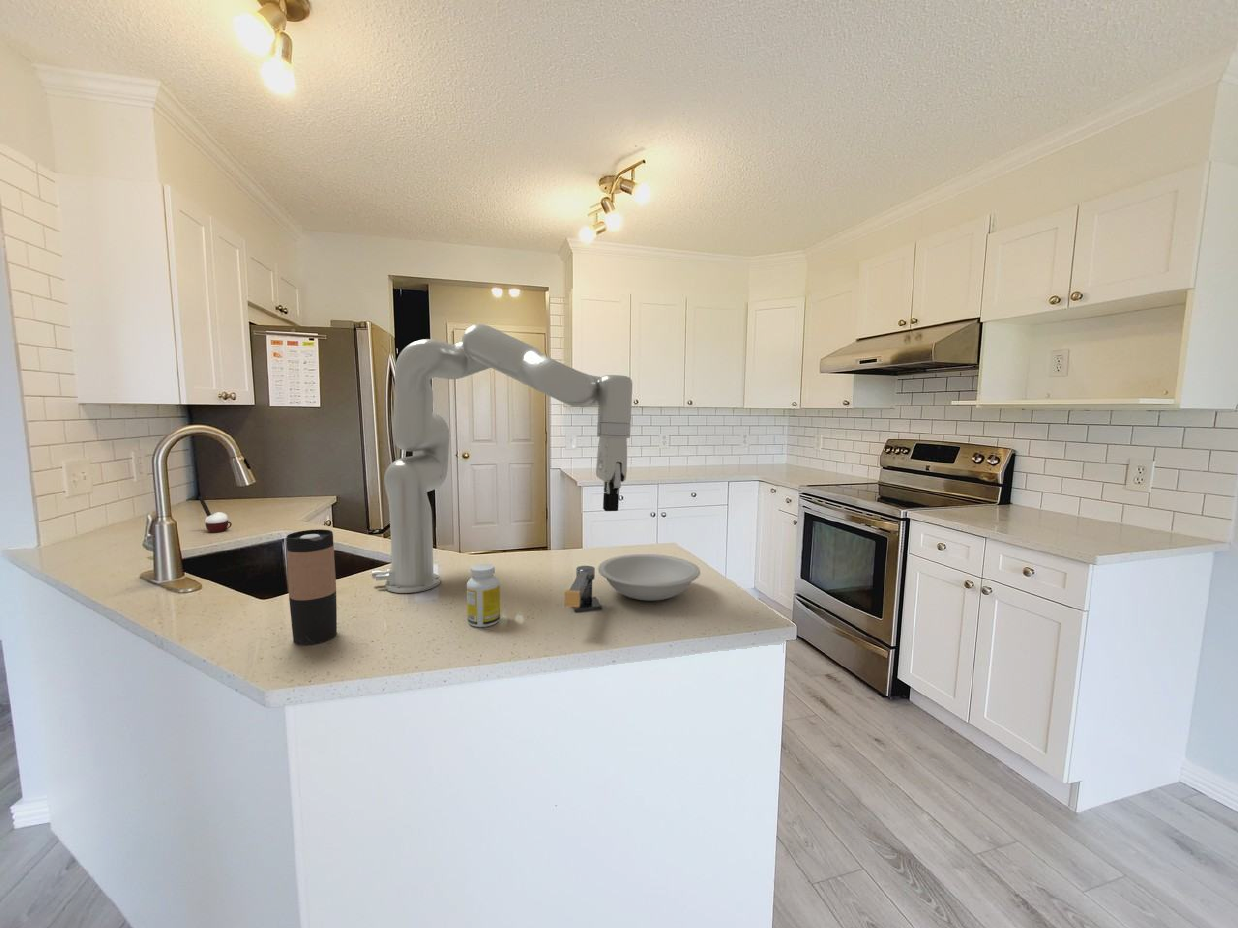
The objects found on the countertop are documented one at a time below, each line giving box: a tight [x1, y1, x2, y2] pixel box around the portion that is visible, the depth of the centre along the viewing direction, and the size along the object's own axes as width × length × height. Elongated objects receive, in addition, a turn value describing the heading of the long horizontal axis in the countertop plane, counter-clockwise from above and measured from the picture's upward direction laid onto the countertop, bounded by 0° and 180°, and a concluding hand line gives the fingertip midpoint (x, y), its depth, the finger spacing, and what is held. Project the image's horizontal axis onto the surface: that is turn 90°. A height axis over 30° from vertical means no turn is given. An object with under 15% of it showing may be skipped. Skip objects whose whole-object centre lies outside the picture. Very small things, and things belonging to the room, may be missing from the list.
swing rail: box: [564, 565, 596, 608], centre depth 107 cm, size 18×4×3 cm, turn 175°
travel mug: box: [285, 529, 338, 646], centre depth 97 cm, size 8×8×20 cm
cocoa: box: [198, 496, 233, 534], centre depth 177 cm, size 10×6×12 cm, turn 73°
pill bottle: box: [466, 563, 501, 628], centre depth 105 cm, size 6×6×12 cm
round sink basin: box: [597, 553, 701, 602], centre depth 122 cm, size 24×24×7 cm
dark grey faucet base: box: [571, 580, 603, 613], centre depth 114 cm, size 6×6×6 cm
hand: (610, 510), depth 118 cm, fingers closed
